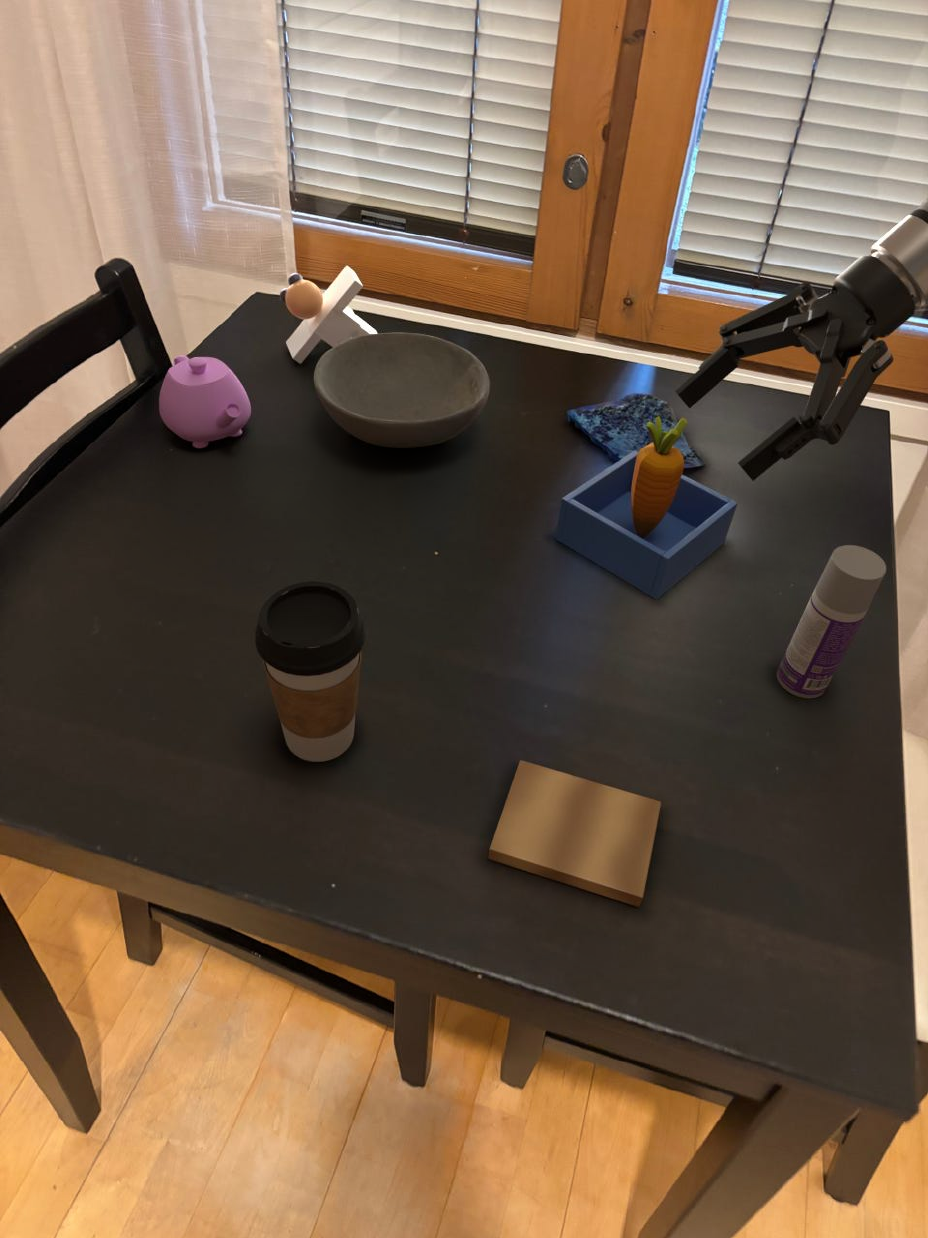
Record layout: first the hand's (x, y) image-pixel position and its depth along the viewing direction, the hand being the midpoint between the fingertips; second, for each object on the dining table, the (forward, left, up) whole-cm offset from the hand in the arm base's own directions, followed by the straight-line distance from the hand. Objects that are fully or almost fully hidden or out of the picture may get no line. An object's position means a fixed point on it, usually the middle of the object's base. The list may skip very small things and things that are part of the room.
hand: (711, 434), depth 91 cm
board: (-15, +40, -13) cm, 44 cm away
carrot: (+3, +5, -13) cm, 14 cm away
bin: (+3, +5, -13) cm, 14 cm away
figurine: (+58, +2, -13) cm, 59 cm away
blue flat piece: (+15, -12, -13) cm, 23 cm away
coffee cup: (+7, +48, -13) cm, 50 cm away
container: (-20, +11, -13) cm, 27 cm away
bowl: (+37, +9, -13) cm, 40 cm away
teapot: (+52, +27, -13) cm, 60 cm away
